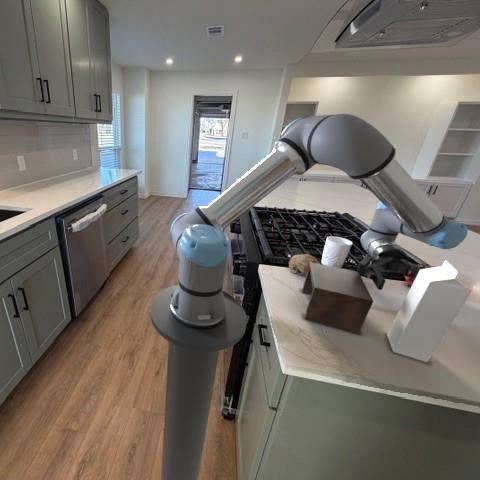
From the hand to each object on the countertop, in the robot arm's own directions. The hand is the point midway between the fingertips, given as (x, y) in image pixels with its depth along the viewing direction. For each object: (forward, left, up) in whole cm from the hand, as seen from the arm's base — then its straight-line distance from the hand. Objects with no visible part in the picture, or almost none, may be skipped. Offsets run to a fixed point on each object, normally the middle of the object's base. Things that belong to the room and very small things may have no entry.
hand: (417, 292), depth 59 cm
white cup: (-10, +34, -12) cm, 38 cm away
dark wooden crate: (-15, +2, -12) cm, 19 cm away
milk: (0, -6, -12) cm, 13 cm away
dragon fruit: (+14, +30, -12) cm, 36 cm away
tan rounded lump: (-20, +24, -12) cm, 34 cm away
